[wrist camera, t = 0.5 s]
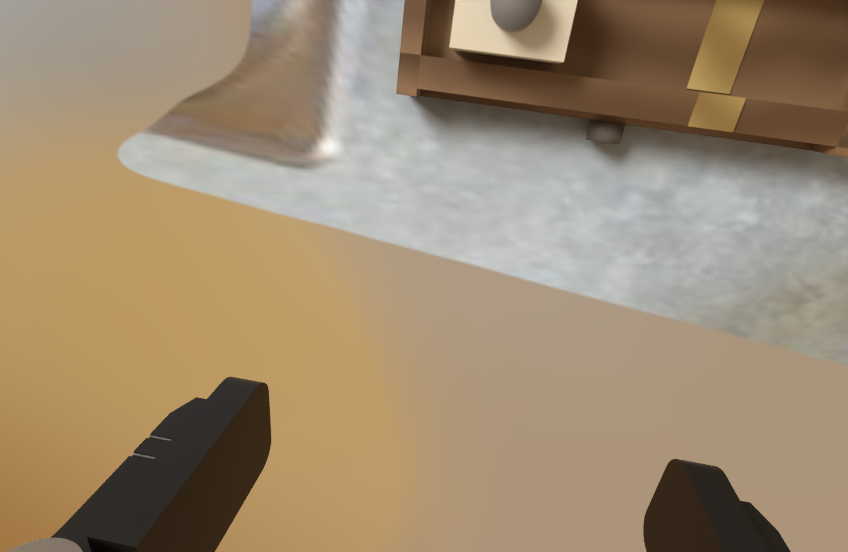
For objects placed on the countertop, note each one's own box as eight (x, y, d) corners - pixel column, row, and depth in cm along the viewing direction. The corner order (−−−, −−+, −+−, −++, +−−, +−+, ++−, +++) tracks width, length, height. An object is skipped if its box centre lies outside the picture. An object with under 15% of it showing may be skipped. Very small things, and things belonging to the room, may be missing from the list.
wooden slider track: (427, -119, 26) (417, -148, 23) (916, -69, 24) (983, -93, 21) (404, 111, 31) (393, 115, 28) (806, 168, 29) (846, 180, 26)
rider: (467, -37, 26) (460, -65, 21) (573, -25, 26) (593, -50, 20) (455, 51, 28) (446, 45, 23) (554, 64, 27) (568, 60, 22)
